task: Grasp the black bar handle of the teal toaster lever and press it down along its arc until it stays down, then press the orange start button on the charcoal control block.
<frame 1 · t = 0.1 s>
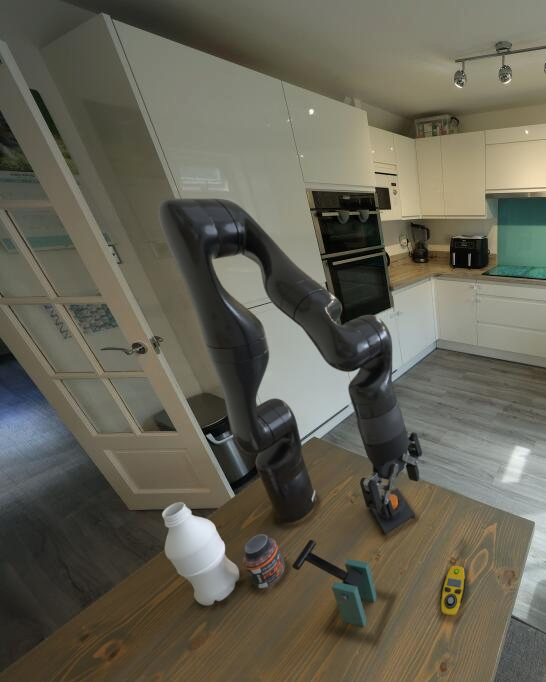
hand: (402, 496, 61), 22 cm above the table, tool pointing down, fingers open, 8 cm apart
start button: (390, 502, 79), point 4 cm above the table, slide at 0.1 cm
remote control: (456, 577, 68), on the table
pair of teal panels: (361, 612, 62), on the table
toaster lever: (330, 568, 57), point 13 cm above the table, hinge at 30.0°
supplement bottle: (271, 576, 68), on the table
water bottle: (222, 590, 65), on the table
control block: (392, 514, 81), on the table
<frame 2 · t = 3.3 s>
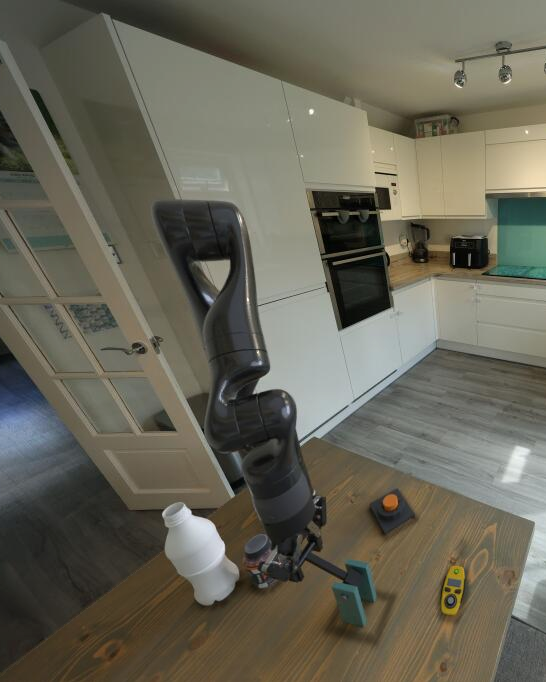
hand: (307, 563, 58), 13 cm above the table, tool pointing down, fingers closed on toaster lever, 4 cm apart
toaster lever: (330, 568, 57), point 13 cm above the table, hinge at 30.0°, touching gripper
everything else where it was.
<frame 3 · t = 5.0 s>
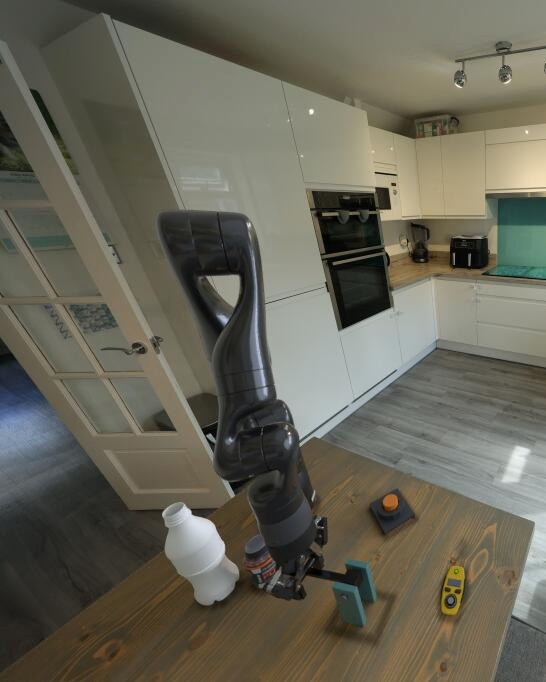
hand: (310, 581, 60), 7 cm above the table, tool pointing down, fingers closed on toaster lever, 4 cm apart
toaster lever: (329, 575, 58), point 11 cm above the table, hinge at -2.4°, touching gripper
everything else where it was.
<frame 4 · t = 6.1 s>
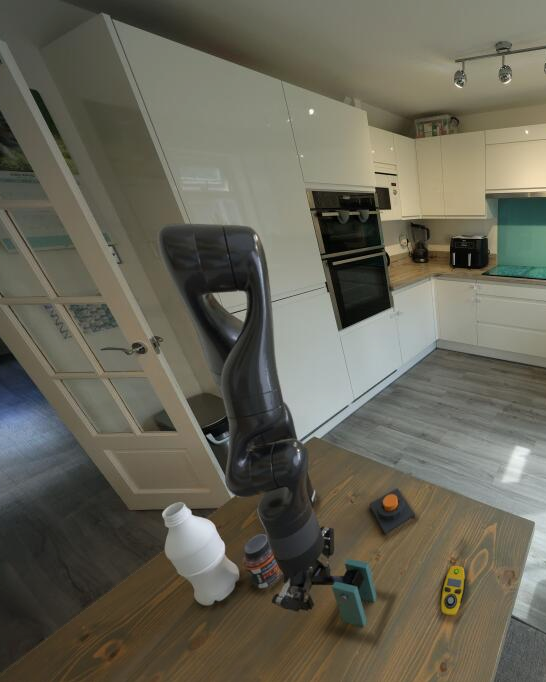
hand: (316, 591, 62), 4 cm above the table, tool pointing down, fingers closed on toaster lever, 4 cm apart
toaster lever: (332, 580, 59), point 9 cm above the table, hinge at -19.9°, touching gripper
everything else where it was.
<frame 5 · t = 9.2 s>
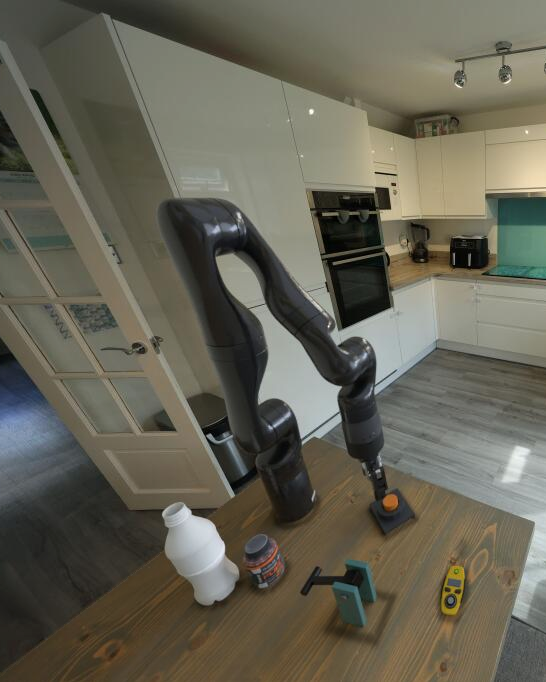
hand: (374, 485, 72), 15 cm above the table, tool pointing down, fingers open, 8 cm apart
toaster lever: (332, 580, 59), point 9 cm above the table, hinge at -20.2°
everything else where it was.
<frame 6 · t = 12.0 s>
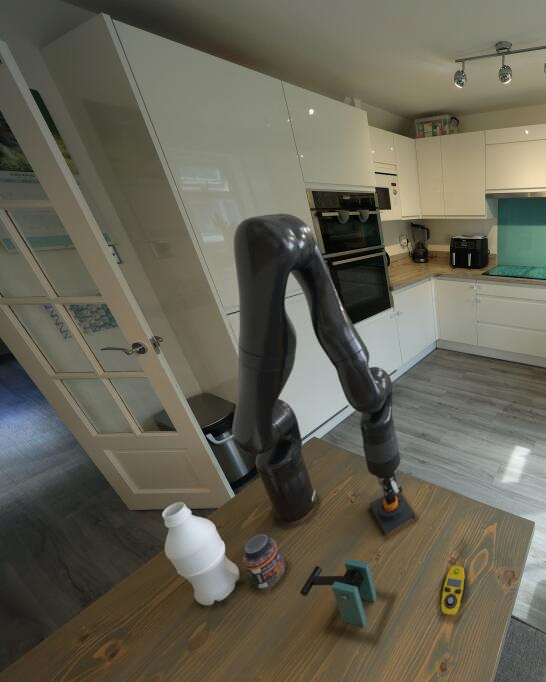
hand: (390, 501, 79), 5 cm above the table, tool pointing down, fingers closed
start button: (390, 503, 79), point 4 cm above the table, slide at -0.2 cm, touching gripper
everything else where it was.
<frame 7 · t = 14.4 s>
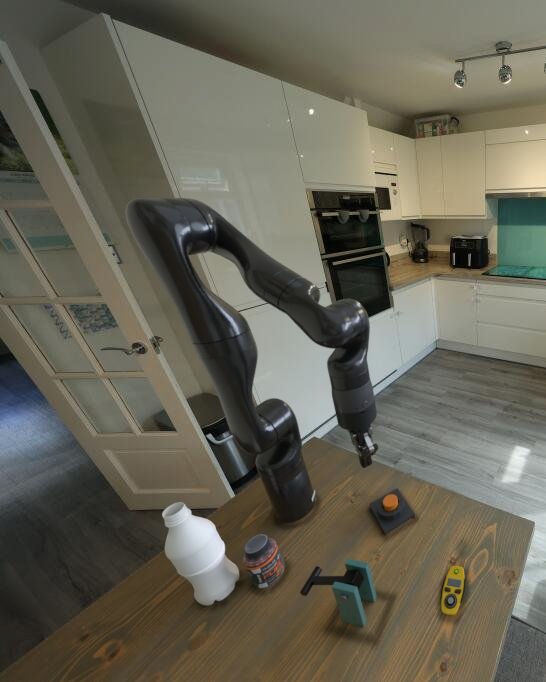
hand: (366, 464, 69), 22 cm above the table, tool pointing down, fingers closed
start button: (390, 502, 79), point 4 cm above the table, slide at 0.1 cm
everything else where it was.
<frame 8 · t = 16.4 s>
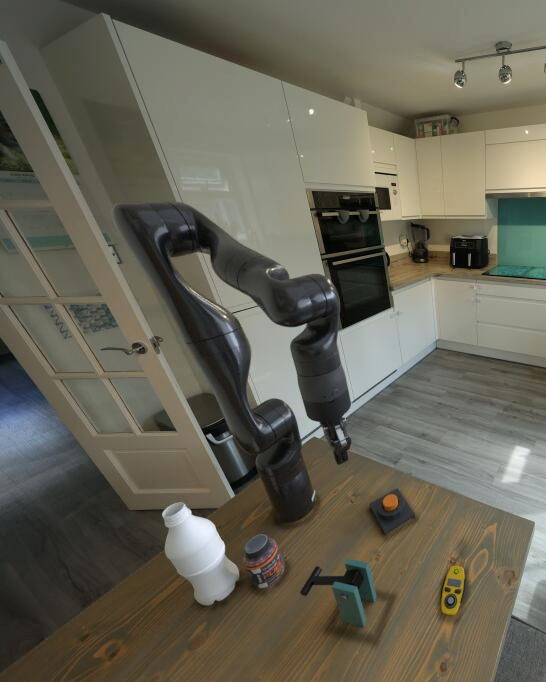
hand: (342, 460, 63), 27 cm above the table, tool pointing down, fingers closed
nothing on the table moved.
at the end: toaster lever at -20° (first picture: +30°); start button pushed in 1.2 cm at the most during the clip, back to where it started at the end; start button slide at 0.1 cm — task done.
